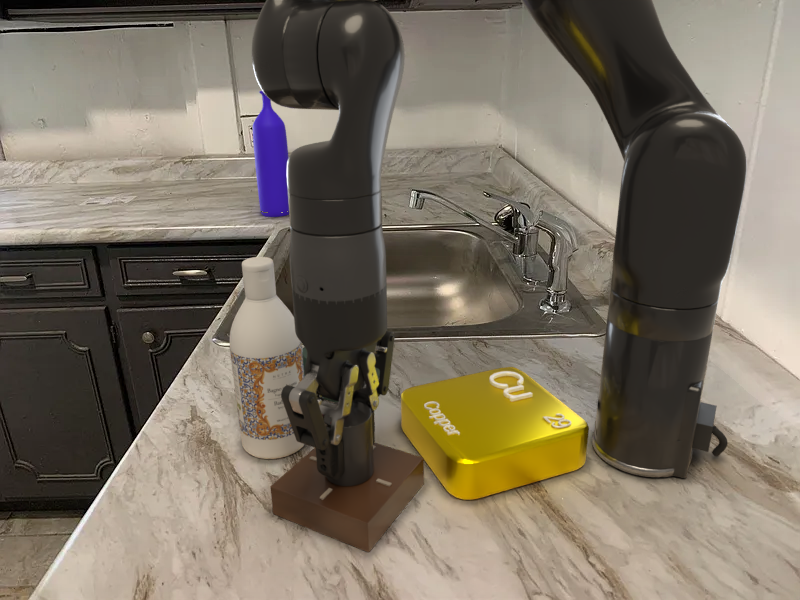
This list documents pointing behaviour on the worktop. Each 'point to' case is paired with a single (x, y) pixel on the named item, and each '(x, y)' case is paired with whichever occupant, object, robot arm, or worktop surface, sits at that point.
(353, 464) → the dial
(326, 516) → the dial panel
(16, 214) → the worktop surface
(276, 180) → the bottle
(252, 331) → the bath foam
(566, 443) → the element tile
